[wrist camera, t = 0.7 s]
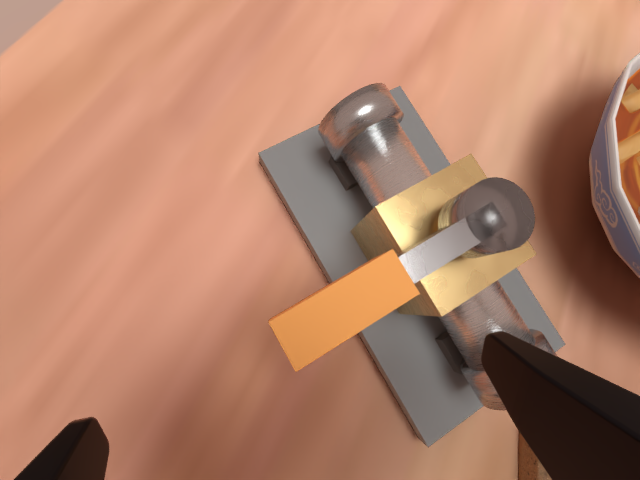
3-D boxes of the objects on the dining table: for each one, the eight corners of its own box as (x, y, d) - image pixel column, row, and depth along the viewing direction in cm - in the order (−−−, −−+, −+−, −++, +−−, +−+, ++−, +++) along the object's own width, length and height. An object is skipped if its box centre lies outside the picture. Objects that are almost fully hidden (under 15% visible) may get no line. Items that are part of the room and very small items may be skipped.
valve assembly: (548, 342, 25) (680, 359, 17) (418, 438, 23) (499, 512, 15) (393, 97, 28) (444, 8, 19) (259, 161, 25) (252, 91, 17)
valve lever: (473, 185, 18) (510, 163, 15) (508, 239, 17) (552, 227, 15) (262, 307, 15) (260, 307, 12) (298, 372, 15) (304, 387, 12)
